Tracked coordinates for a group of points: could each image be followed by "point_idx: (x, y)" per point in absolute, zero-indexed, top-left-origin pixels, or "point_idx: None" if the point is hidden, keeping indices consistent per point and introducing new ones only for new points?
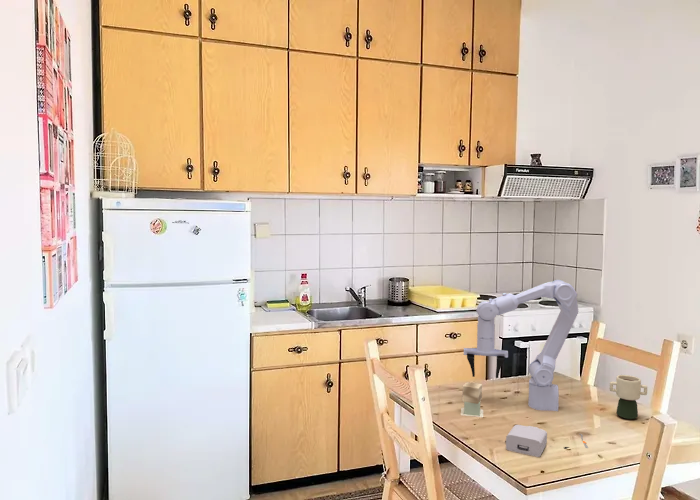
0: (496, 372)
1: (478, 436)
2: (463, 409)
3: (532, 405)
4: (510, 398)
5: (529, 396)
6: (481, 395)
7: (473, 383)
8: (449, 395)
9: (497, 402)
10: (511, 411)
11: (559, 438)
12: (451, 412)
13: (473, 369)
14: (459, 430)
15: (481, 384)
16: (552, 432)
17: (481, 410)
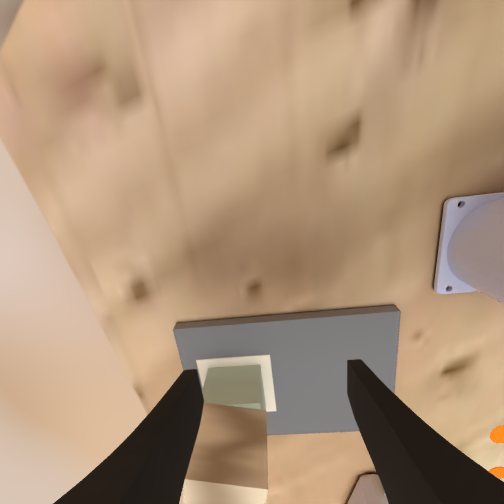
0: (368, 448)
1: (274, 482)
2: (206, 373)
3: (470, 285)
4: (377, 136)
5: (490, 282)
6: (266, 432)
7: (222, 489)
8: (108, 207)
9: (315, 220)
10: (368, 301)
11: (480, 447)
12: (173, 372)
13: (181, 469)
14: None
15: (265, 493)
16: (472, 420)
17: (265, 363)
